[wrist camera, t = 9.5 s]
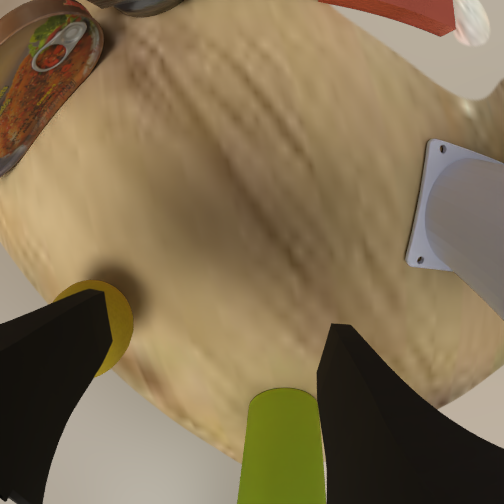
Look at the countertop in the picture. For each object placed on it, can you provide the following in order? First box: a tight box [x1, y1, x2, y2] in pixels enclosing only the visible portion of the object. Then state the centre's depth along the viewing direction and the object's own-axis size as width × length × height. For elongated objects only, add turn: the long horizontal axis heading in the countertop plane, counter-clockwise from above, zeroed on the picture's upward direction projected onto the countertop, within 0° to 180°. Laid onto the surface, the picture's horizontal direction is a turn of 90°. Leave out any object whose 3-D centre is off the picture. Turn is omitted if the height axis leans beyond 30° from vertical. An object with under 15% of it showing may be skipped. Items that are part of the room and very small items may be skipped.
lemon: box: [53, 280, 133, 377], centre depth 16 cm, size 6×6×8 cm
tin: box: [0, 0, 104, 177], centre depth 11 cm, size 15×3×8 cm, turn 124°
